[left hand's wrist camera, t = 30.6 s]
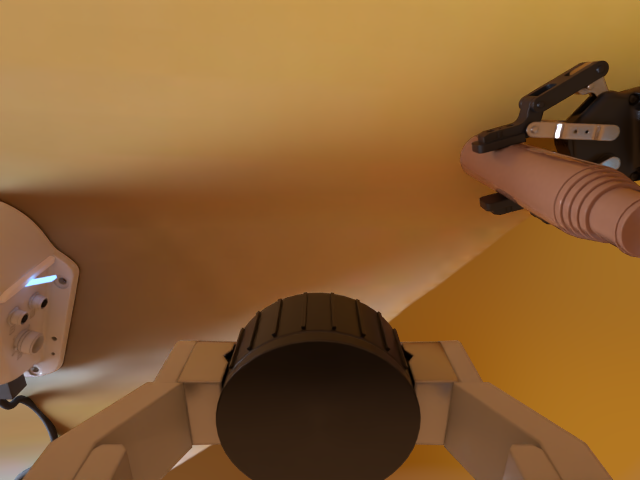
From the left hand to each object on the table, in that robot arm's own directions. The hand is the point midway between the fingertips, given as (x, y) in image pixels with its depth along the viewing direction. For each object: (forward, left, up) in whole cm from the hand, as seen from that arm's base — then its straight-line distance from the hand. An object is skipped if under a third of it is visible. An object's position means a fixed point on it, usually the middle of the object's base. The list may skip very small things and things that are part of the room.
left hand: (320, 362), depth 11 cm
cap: (0, 0, +2) cm, 2 cm away
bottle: (+3, -16, -32) cm, 36 cm away
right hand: (+2, -14, -26) cm, 29 cm away
